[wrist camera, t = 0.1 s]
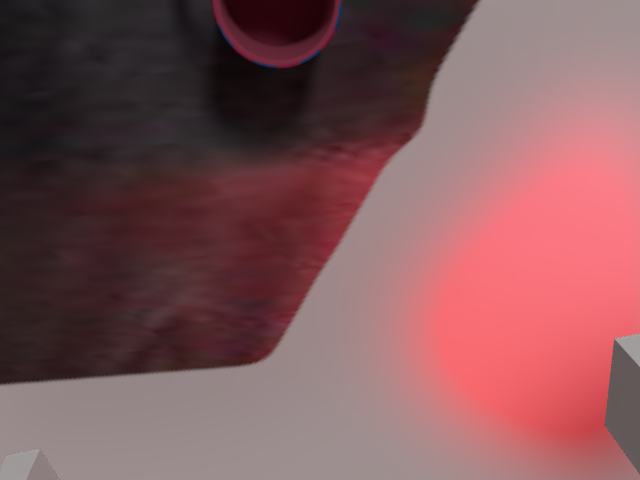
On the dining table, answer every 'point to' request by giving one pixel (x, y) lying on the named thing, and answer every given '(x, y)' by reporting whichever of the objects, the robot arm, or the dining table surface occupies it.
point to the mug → (277, 28)
